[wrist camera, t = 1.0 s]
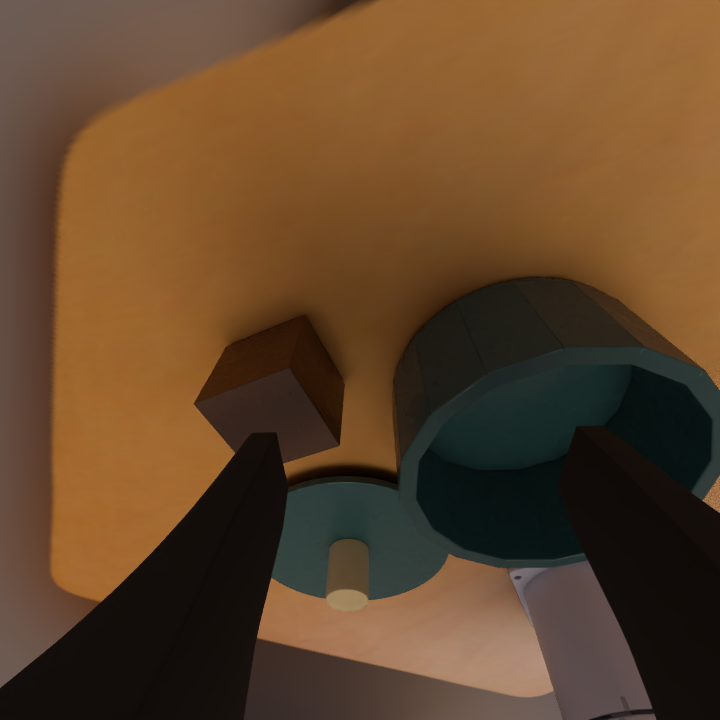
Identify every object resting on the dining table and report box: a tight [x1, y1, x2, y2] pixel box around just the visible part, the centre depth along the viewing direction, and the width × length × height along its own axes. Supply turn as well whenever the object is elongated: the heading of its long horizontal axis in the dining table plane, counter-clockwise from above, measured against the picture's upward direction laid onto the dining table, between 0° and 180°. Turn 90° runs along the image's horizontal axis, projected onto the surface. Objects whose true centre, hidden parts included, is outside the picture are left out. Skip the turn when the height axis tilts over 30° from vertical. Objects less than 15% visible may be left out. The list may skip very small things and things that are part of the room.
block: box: [194, 315, 345, 463], centre depth 19 cm, size 4×4×4 cm
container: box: [393, 278, 720, 568], centre depth 18 cm, size 12×12×6 cm
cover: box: [271, 476, 449, 612], centre depth 26 cm, size 13×13×4 cm
